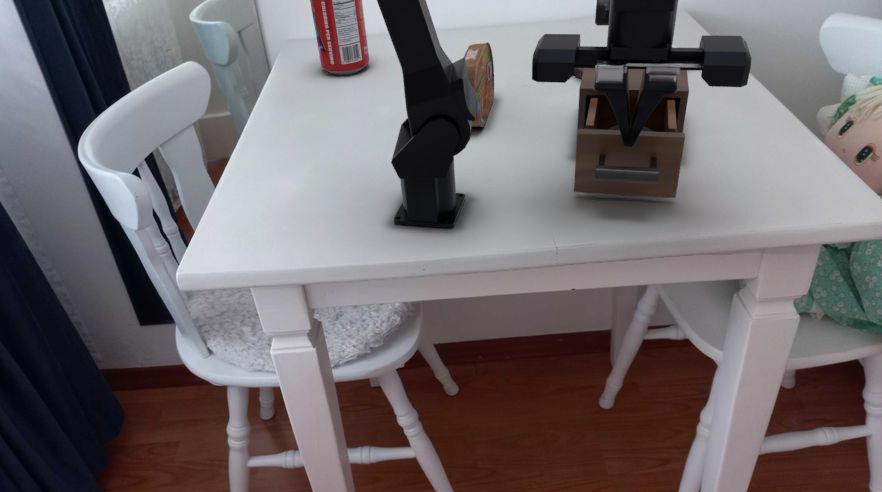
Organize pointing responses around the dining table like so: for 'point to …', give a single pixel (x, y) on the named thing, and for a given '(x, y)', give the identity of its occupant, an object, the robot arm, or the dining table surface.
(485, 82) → the tin
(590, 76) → the cabinet
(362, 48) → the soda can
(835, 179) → the dining table surface
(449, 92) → the robot arm
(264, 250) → the dining table surface
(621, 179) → the drawer
